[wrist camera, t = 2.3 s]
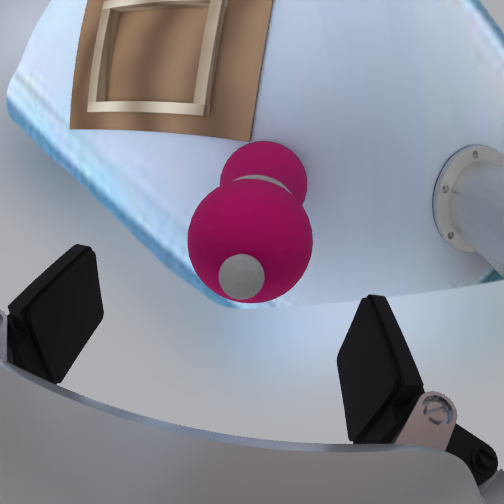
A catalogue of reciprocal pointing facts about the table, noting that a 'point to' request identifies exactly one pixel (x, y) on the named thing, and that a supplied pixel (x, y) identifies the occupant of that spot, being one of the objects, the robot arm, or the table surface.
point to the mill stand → (170, 66)
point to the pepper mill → (253, 226)
